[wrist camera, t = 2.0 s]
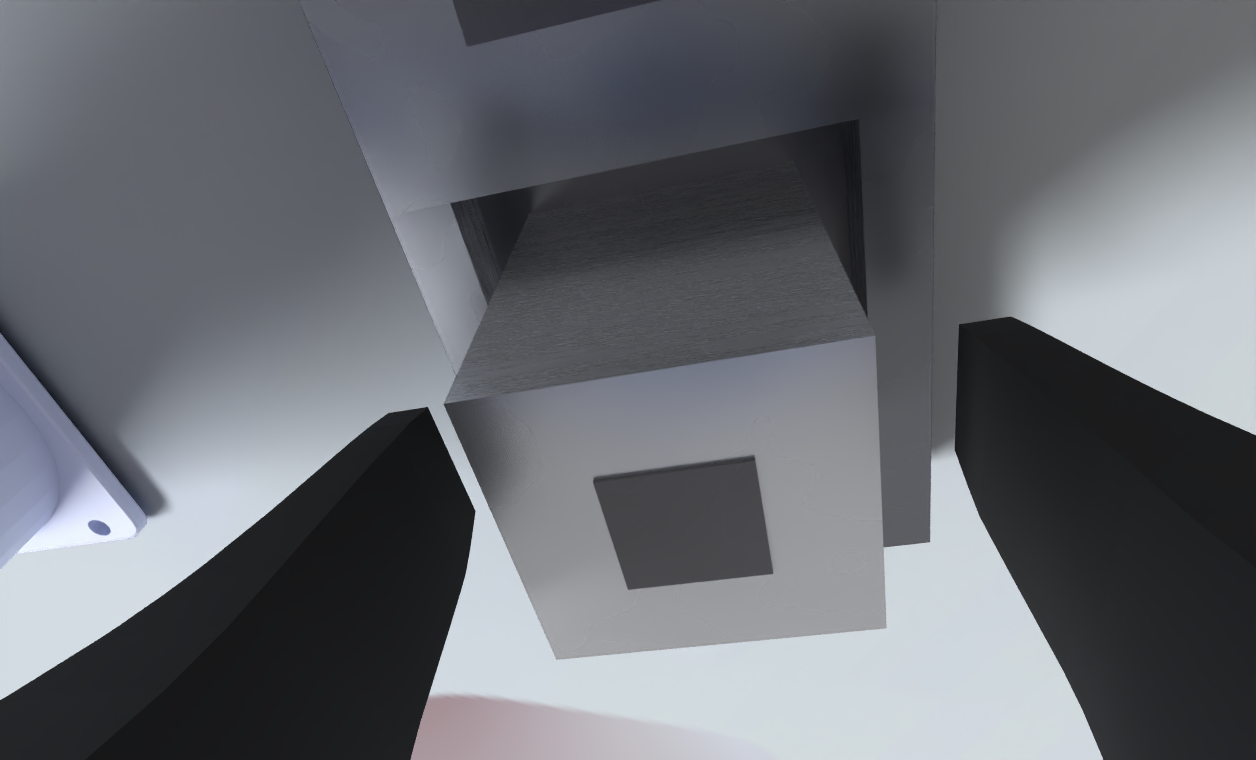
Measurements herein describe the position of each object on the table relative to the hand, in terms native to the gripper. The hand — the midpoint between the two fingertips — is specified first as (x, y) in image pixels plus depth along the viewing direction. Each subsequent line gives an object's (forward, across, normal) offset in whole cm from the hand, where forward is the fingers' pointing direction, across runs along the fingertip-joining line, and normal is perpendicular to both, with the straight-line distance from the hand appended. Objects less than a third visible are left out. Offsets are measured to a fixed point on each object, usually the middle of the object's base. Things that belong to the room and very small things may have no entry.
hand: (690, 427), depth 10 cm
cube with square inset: (+4, 0, 0) cm, 4 cm away
